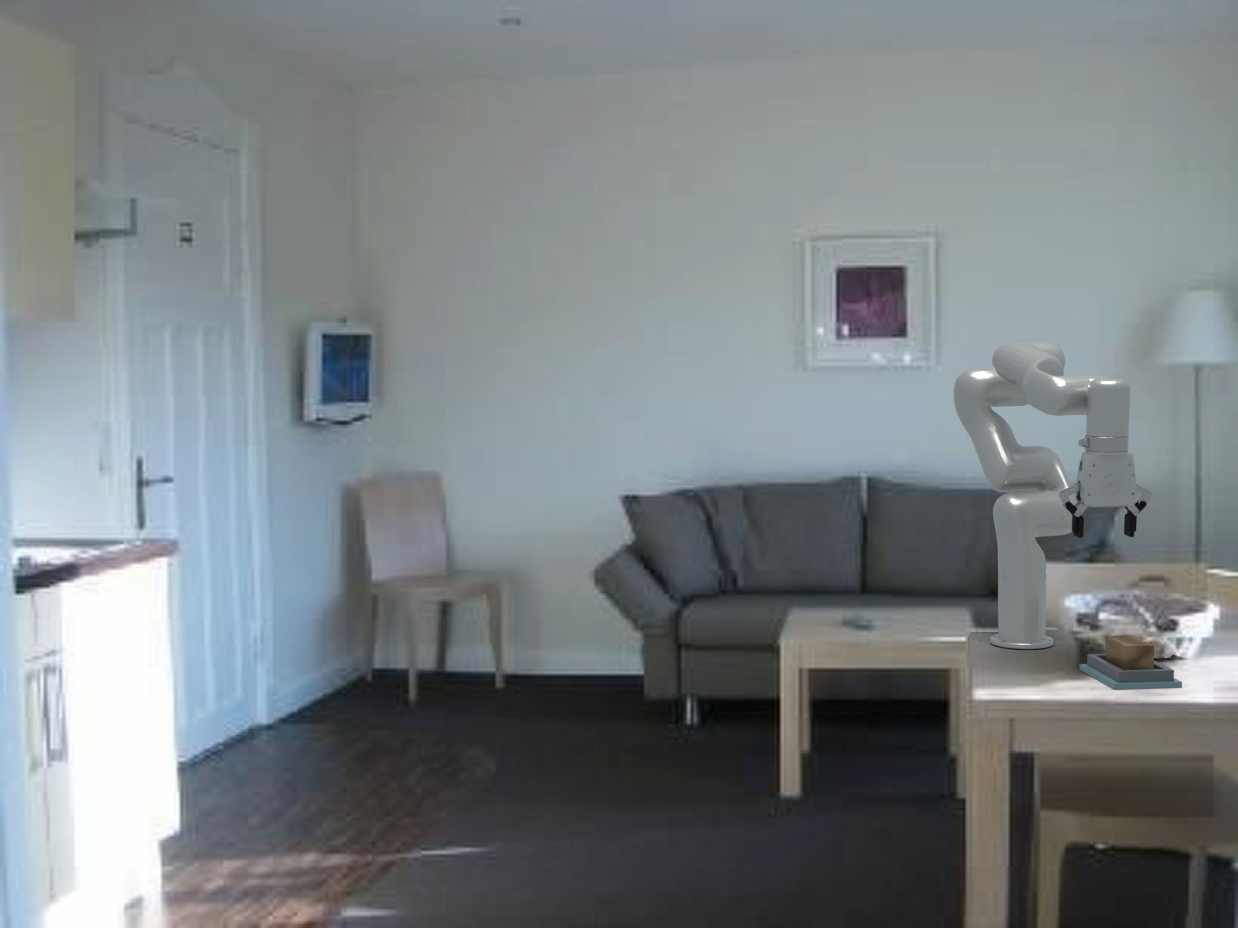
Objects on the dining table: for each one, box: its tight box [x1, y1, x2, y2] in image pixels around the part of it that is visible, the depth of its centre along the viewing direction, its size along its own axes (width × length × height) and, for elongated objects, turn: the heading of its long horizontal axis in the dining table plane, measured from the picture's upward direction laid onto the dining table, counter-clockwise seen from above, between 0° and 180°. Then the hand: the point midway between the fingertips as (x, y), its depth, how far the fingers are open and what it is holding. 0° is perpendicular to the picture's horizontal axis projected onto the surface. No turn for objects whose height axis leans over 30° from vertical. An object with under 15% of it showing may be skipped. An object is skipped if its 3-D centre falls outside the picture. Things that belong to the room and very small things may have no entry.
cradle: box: [1079, 653, 1183, 690], centre depth 275 cm, size 17×12×3 cm
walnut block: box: [1104, 634, 1155, 670], centre depth 275 cm, size 5×10×6 cm, turn 4°
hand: (1103, 536), depth 280 cm, fingers open, 9 cm apart
